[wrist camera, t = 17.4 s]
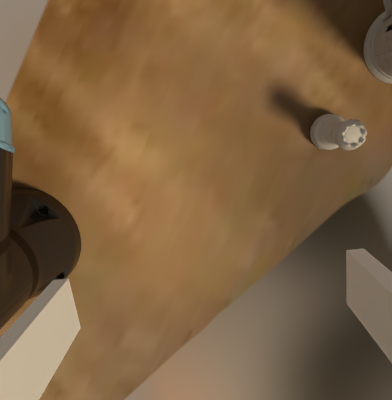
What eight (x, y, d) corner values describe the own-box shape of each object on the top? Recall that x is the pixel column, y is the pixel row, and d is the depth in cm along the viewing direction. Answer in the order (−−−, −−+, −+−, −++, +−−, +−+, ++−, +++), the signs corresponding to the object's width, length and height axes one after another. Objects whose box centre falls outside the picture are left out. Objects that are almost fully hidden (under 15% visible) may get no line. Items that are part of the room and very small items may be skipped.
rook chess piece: (343, 147, 42) (375, 155, 34) (308, 150, 42) (332, 158, 34) (344, 111, 40) (378, 111, 33) (308, 115, 41) (333, 115, 33)
